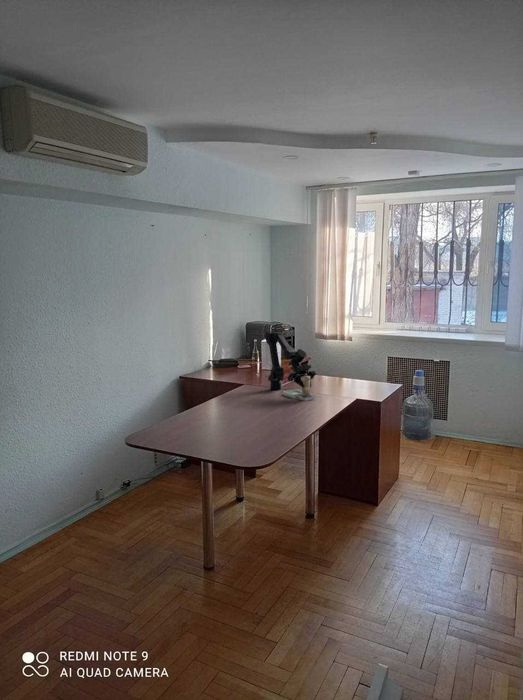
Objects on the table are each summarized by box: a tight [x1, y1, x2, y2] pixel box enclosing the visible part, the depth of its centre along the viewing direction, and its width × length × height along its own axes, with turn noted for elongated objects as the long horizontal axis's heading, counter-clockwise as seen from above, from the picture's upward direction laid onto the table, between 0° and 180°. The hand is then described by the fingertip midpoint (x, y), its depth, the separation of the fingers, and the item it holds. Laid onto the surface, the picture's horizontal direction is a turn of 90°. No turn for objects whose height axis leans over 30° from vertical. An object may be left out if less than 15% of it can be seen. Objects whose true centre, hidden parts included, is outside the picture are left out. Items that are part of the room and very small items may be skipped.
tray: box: [282, 389, 302, 399], centre depth 328 cm, size 12×12×2 cm
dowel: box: [301, 376, 311, 397], centre depth 318 cm, size 5×5×13 cm
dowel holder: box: [296, 394, 315, 402], centre depth 319 cm, size 8×8×2 cm
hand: (307, 387), depth 317 cm, fingers closed on dowel, 5 cm apart
